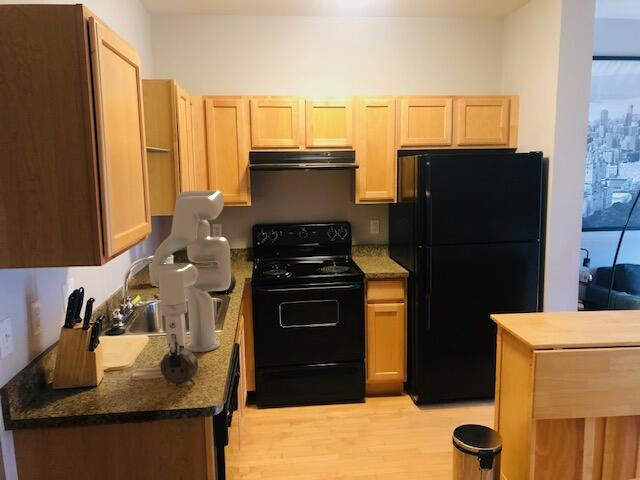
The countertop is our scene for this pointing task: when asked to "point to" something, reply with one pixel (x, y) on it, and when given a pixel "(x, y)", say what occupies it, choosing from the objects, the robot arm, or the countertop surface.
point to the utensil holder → (168, 261)
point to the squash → (232, 284)
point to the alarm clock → (180, 368)
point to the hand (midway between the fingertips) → (177, 361)
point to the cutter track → (147, 373)
